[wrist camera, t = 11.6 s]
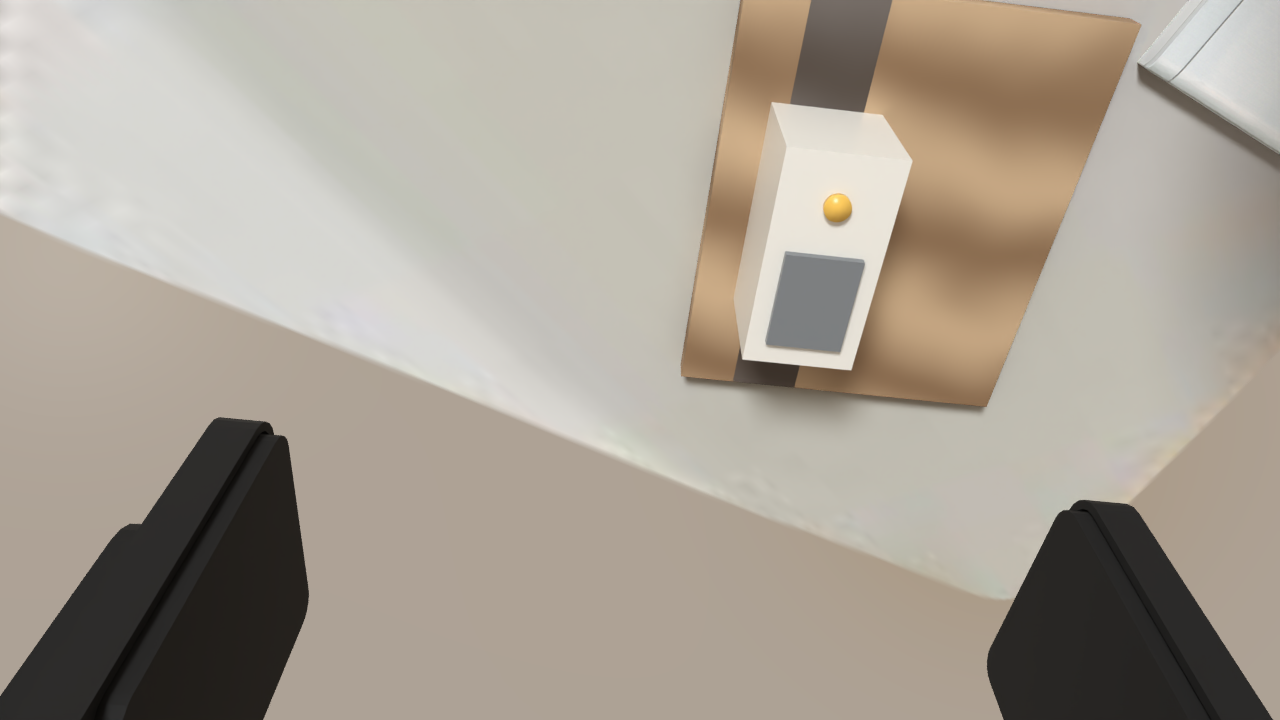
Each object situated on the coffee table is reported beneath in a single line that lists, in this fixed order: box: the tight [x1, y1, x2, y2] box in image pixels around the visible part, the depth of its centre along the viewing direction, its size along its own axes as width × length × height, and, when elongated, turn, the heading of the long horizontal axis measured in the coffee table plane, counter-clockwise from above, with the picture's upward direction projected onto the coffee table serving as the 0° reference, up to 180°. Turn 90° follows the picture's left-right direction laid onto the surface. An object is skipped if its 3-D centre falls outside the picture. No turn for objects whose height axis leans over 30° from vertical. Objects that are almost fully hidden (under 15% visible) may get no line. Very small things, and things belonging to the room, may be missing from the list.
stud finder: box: [733, 102, 913, 370], centre depth 36 cm, size 9×4×5 cm, turn 174°
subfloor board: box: [681, 0, 1141, 407], centre depth 39 cm, size 18×15×1 cm
